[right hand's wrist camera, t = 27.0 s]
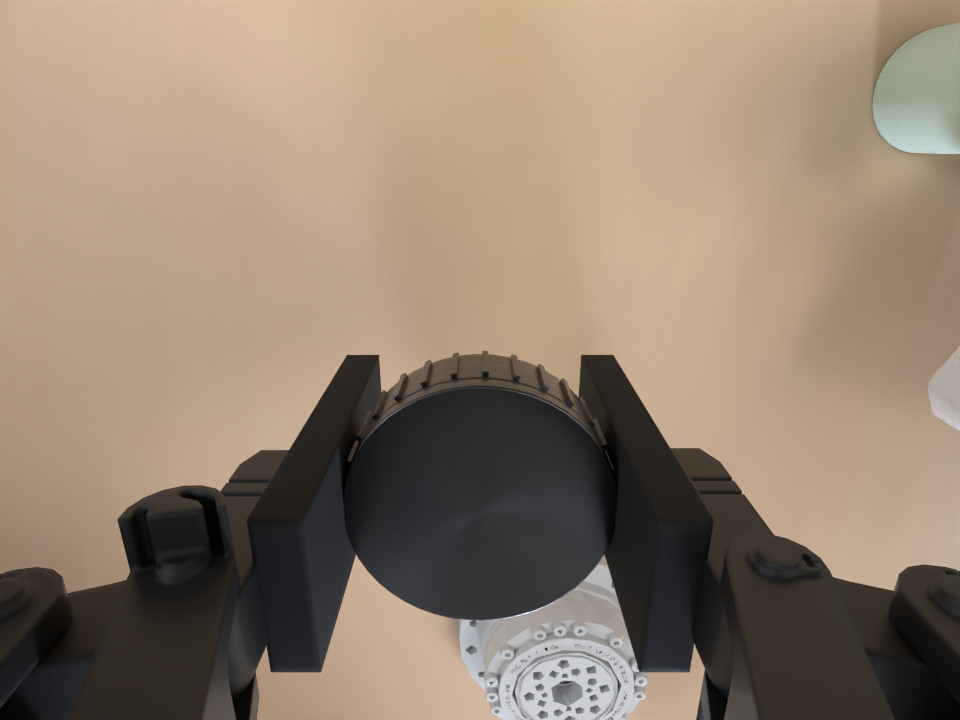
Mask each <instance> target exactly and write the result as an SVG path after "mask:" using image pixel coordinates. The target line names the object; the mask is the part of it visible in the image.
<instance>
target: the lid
mask: <svg viewBox="0 0 960 720" xmlns="http://www.w3.org/2000/svg"><path fill="white" fill-rule="evenodd" d="M606 449H609V446H608V444H607V442H606V439H605V437H604V434H603V432H602V430H601V427H600V425H599V422H598V420H597V418H595V419H593V418H592V415H591V413H590V410H589V408H588V405H587V403H586V400H585V399H584V398H583V397H581V398H578V397H577V396H576V395H575V394H574V393H573V392H572V390H571V389H570V388H569V386H568V383H567V381H566V380H565V379H564V378H562V379H561V381H560V380H559V379H557V378H556V377H555V376H553V375H551V374H550V373H548V372H546V371H545V369H544V366H543V365H541V364H538V366H537V367H536V366H534V365H532V364H530V363H527V362H524V361H521V360H517V356H516V355H511V358H510V357H504V356H498V355H488V351H482V354H474V355H463V356H459V353H454V354H453V357H452V358H447V359H443V360H440V361H437V362H434V363H432V362H431V360H429V361H427V362H425V366H424V367H422V368H420V369H418V370H416V371H414V372H412V373H411V374H409V375H408V376H407V374H406V373H404V374H402V375H401V377H400V380H399V382H398V383H397V384H396V385H394V386H393V387H392V388H391V389H390V390H389V391H388V392H386V391H385V390H383V391H382V393H381V394H380V397H379V399H378V402H377V404H376V407H375V408H374V410H373V411H372V412H370V411H368V412H367V413H366V415H365V418H364V420H363V423H362V425H361V427H360V430H359V432H358V434H357V437H356V439H355V442H354V444H353V447H352V449H351V451H350V454H349V456H348V459H347V462H346V465H347V466H349V468H348V471H347V474H346V478H345V482H344V488H343V505H344V517H345V526H346V531H347V534H348V537H349V539H350V542H351V545H352V547H353V549H354V551H355V553H356V554H357V556H358V558H359V560H360V561H361V562H362V564H363V565H364V567H365V568H366V569H367V571H368V572H369V573H370V574H371V575H372V576H373V577H374V578H375V579H376V580H377V581H378V582H379V583H380V584H381V585H382V586H383V587H385V588H386V589H387V590H388V591H390V592H391V593H392V594H394V595H395V596H397V597H398V598H400V599H402V600H403V601H405V602H407V603H409V604H411V605H413V606H415V607H417V608H419V609H422V610H425V611H428V612H430V613H433V614H437V615H441V616H445V617H449V618H455V619H462V620H480V621H485V620H499V619H505V618H511V617H517V616H520V615H523V614H527V613H530V612H533V611H536V610H538V609H541V608H543V607H546V606H548V605H550V604H552V603H553V602H555V601H557V600H559V599H561V598H562V597H564V596H565V595H567V594H568V593H569V592H571V591H572V590H574V589H575V588H576V587H577V586H578V585H579V584H580V583H582V582H583V581H584V580H585V579H586V578H587V577H588V576H589V574H590V573H591V572H592V571H593V570H594V569H595V567H596V566H597V565H598V563H599V562H600V560H601V559H602V557H603V555H604V554H605V552H606V550H607V548H608V546H609V543H610V541H611V539H612V536H613V532H614V529H615V520H616V510H617V498H618V491H617V485H616V479H615V476H614V473H613V472H614V468H613V466H612V463H611V461H610V458H609V456H608V453H607V451H606Z"/></svg>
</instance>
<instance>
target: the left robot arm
mask: <svg viewBox="0 0 960 720" xmlns="http://www.w3.org/2000/svg"><path fill="white" fill-rule="evenodd" d="M928 394H929V400H930V405H931V410H932V412H933V414H934V415H935V416H937V417H938V418H940V419H941V420H943V421H944V422H946V423H948V424H949V425H951V426H952V427H954V428H956V429H957V430H959V431H960V346H959V347H958V348H957V349H956V350H955V352H954V353H953V354H952V355H951V356H950V357H949V358H948V359H947V361H946V362H945V363H944V364H943V365H942V366H941V367H940V368H939V369H938V370H937V371H936V372H935V374H934V375H933V376H932V378H931V379H930V381H929V383H928Z"/></svg>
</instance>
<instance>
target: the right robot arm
mask: <svg viewBox="0 0 960 720" xmlns="http://www.w3.org/2000/svg"><path fill="white" fill-rule="evenodd" d="M380 394H381V380H380V364H379V355H347V356H346V358H345V359H344V361H343V363H342V364H341V366H340V368H339V369H338V371H337V373H336V374H335V376H334V378H333V379H332V381H331V382H330V384H329V386H328V387H327V389H326V391H325V392H324V394H323V396H322V397H321V399H320V400H319V402H318V404H317V405H316V407H315V409H314V410H313V412H312V414H311V415H310V417H309V419H308V420H307V422H306V423H305V425H304V427H303V428H302V430H301V432H300V433H299V435H298V437H297V438H296V440H295V442H294V443H293V445H292V446H291V448H290V450H261V451H259V452H258V453H256V454H255V455H253V456H252V457H250V458H249V459H247V460H246V461H244V462H243V463H241V464H240V465H239V467H238V468H237V470H236V471H235V472H234V474H233V475H232V476H231V478H230V479H229V483H226V485H225V486H224V487H223V489H222V490H221V491H218V490H217V489H215V488H211V487H206V486H202V485H199V486H180V487H176V488H171V489H166V490H162V491H160V492H157V493H155V494H152V495H150V496H147V497H144V498H143V499H141V500H139V501H138V502H136V503H135V504H133V505H132V506H130V507H128V508H127V509H126V510H125V512H124V513H123V514H122V515H121V516H120V517H119V518H118V524H119V528H120V532H121V536H122V540H123V543H124V547H125V551H126V555H127V559H128V563H129V567H130V574H129V576H128V578H127V580H125V581H121V582H118V583H114V584H110V585H105V586H100V587H96V588H91V589H86V590H81V591H77V592H72V593H67V591H66V588H65V584H64V581H63V578H62V576H61V575H59V574H58V573H57V572H56V571H54V570H52V569H46V568H39V567H35V568H26V569H18V570H13V571H9V572H5V573H4V574H2V573H1V574H0V720H257V712H258V703H259V691H258V684H257V678H256V672H255V671H256V669H257V666H258V664H259V662H260V659H261V657H262V654H263V652H264V650H265V647H266V645H267V651H268V657H269V663H270V669H271V672H321V670H322V667H323V664H324V660H325V657H326V654H327V650H328V647H329V644H330V640H331V637H332V633H333V630H334V627H335V623H336V620H337V617H338V613H339V610H340V606H341V603H342V600H343V596H344V593H345V590H346V586H347V583H348V580H349V576H350V573H351V569H352V566H353V563H354V559H355V556H356V553H355V551H354V549H353V547H352V545H351V542H350V539H349V537H348V534H347V531H346V526H345V517H344V505H343V488H344V482H345V478H346V474H347V471H348V468H349V466H347V465H346V462H347V459H348V456H349V454H350V451H351V449H352V447H353V444H354V442H355V439H356V437H357V434H358V432H359V430H360V427H361V425H362V423H363V420H364V418H365V415H366V413H367V412H368V411H370V412H372V411H373V410H374V408H375V407H376V404H377V402H378V399H379V397H380ZM581 397H583V398H584V399H585V400H586V403H587V405H588V408H589V410H590V413H591V415H592V418H593V419H595V418H597V420H598V422H599V425H600V427H601V430H602V432H603V434H604V437H605V439H606V442H607V444H608V446H609V449H606V451H607V453H608V456H609V458H610V461H611V463H612V466H613V468H614V472H613V473H614V476H615V479H616V485H617V491H618V498H617V510H616V520H615V529H614V532H613V536H612V539H611V541H610V543H609V546H608V548H607V550H606V552H605V554H604V555H605V558H606V562H607V565H608V568H609V572H610V575H611V578H612V582H613V585H614V588H615V592H616V595H617V599H618V602H619V605H620V609H621V612H622V615H623V619H624V622H625V625H626V629H627V632H628V636H629V639H630V642H631V646H632V649H633V652H634V656H635V659H636V662H637V666H638V669H639V672H690V665H691V659H692V653H693V647H694V643H695V646H696V648H697V650H698V653H699V655H700V658H701V660H702V662H703V665H704V667H705V672H704V678H703V684H702V690H701V695H700V701H699V707H698V713H697V718H696V720H960V571H956V570H955V569H951V568H947V567H940V566H931V565H918V566H912V567H907V568H906V569H905V570H904V571H902V572H901V573H900V574H899V576H898V579H897V583H896V586H895V589H894V591H891V590H887V589H882V588H877V587H872V586H868V585H863V584H858V583H853V582H848V581H845V580H841V579H838V578H834V577H832V575H831V573H830V570H829V569H828V568H827V566H826V565H825V564H824V562H823V561H822V560H821V558H820V557H818V556H817V555H816V554H814V553H813V552H811V551H810V550H809V549H807V548H806V547H804V546H802V545H800V544H798V543H796V542H793V541H791V540H789V539H787V538H783V537H779V536H775V535H774V534H773V533H772V532H771V530H770V529H769V528H768V526H767V525H766V524H765V522H764V521H763V519H762V518H761V517H760V515H759V514H758V513H757V511H756V510H755V509H754V507H753V506H752V505H751V503H750V502H749V500H748V499H747V498H746V496H745V495H742V491H741V490H740V488H739V487H738V486H737V484H736V483H735V482H734V481H732V477H731V476H730V475H729V473H728V472H727V471H726V469H725V468H724V467H723V465H722V464H721V463H720V462H719V461H718V460H716V459H715V458H713V457H712V456H710V455H709V454H707V453H706V452H704V451H703V450H701V449H699V448H670V447H669V446H668V444H667V443H666V441H665V439H664V438H663V436H662V434H661V433H660V431H659V429H658V428H657V426H656V424H655V423H654V421H653V420H652V418H651V416H650V415H649V413H648V411H647V410H646V408H645V406H644V405H643V403H642V401H641V400H640V398H639V397H638V395H637V393H636V392H635V390H634V388H633V387H632V385H631V383H630V382H629V380H628V379H627V377H626V375H625V374H624V372H623V370H622V369H621V367H620V365H619V364H618V362H617V360H616V359H615V357H614V356H613V355H581V370H580V386H579V398H581Z"/></svg>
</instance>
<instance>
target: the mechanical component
mask: <svg viewBox="0 0 960 720" xmlns="http://www.w3.org/2000/svg"><path fill="white" fill-rule="evenodd" d="M459 641H460V649H461V658H462V660H463V662H464V664H465V666H466V668H467V670H468V672H469V674H470V675H471V677H472V678H473V679H474V680H475V681H476V682H477V683H478V684H479V685H480V686H481V687H482V689H483V690H484V691H485V695H486V700H488V701H489V703H490V705H491V707H490V708H491V713H492V714H493V715H495V716H496V715H497V716H498V717H499V718H500V719H501V720H627V716H628V715H629V714H630V713H631V712H632V711H633V710H634V709H635V708H636V706H637V704H638V702H639V701H640V700H643V699H644V698H645V697H646V694H645V690H644V687H645V685H646V684H647V681H648V679H647V676H646V674H645V672H639V669H638V666H637V662H636V659H635V656H634V652H633V649H632V646H631V642H630V639H629V636H628V632H627V629H626V625H625V622H624V619H623V615H622V612H621V609H620V605H619V602H618V599H617V595H616V592H615V588H614V585H613V582H612V578H611V575H610V572H609V568H608V565H607V562H606V558H605V555H603V557H602V559H601V560H600V562H599V563H598V565H597V566H596V567H595V569H594V570H593V571H592V572H591V573H590V574H589V576H588V577H587V578H586V579H585V580H584V581H583V582H582V583H580V584H579V585H578V586H577V587H576V588H575V589H574V590H572V591H571V592H569V593H568V594H567V595H565V596H564V597H562V598H561V599H559V600H557V601H555V602H553V603H552V604H550V605H548V606H546V607H543V608H541V609H538V610H536V611H533V612H530V613H527V614H523V615H520V616H517V617H511V618H505V619H499V620H485V621H480V620H462V619H460V621H459Z"/></svg>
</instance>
